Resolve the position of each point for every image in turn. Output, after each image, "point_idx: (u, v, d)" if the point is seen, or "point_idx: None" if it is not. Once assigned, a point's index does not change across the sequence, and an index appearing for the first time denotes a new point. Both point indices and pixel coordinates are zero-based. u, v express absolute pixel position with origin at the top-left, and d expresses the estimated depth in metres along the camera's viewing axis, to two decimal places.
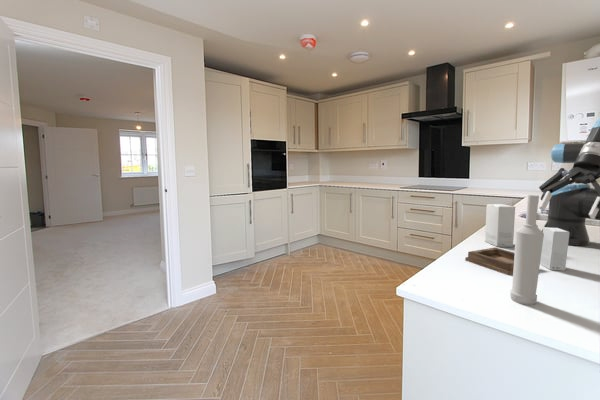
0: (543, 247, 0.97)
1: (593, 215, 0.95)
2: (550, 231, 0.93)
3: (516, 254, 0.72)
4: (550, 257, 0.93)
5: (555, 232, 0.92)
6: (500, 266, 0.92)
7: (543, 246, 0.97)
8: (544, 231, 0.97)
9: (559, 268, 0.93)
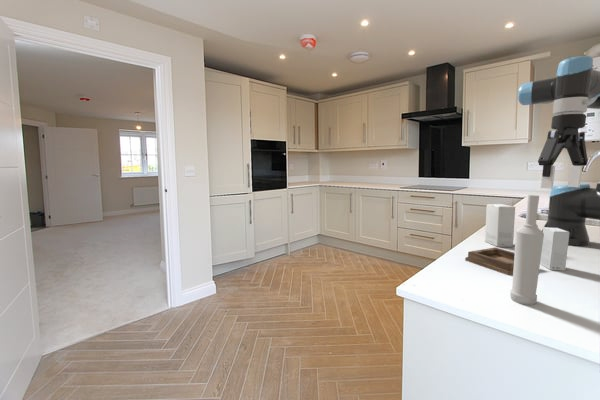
0: (543, 247, 0.97)
1: None
2: (550, 231, 0.93)
3: (516, 254, 0.72)
4: (550, 257, 0.93)
5: (555, 232, 0.92)
6: (500, 266, 0.92)
7: (543, 246, 0.97)
8: (544, 231, 0.97)
9: (559, 268, 0.93)
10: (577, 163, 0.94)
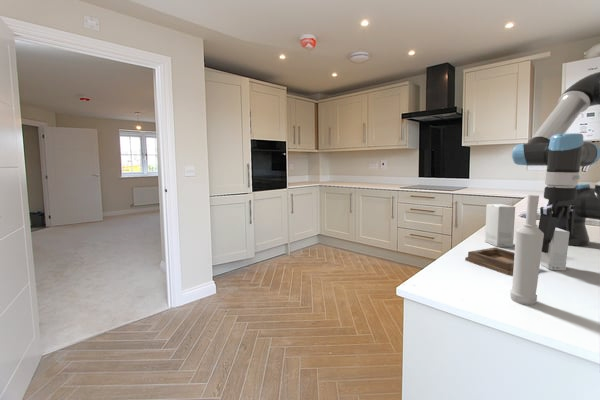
0: None
1: None
2: None
3: (516, 254, 0.72)
4: None
5: (555, 232, 0.92)
6: (500, 266, 0.92)
7: None
8: None
9: (559, 268, 0.93)
10: None
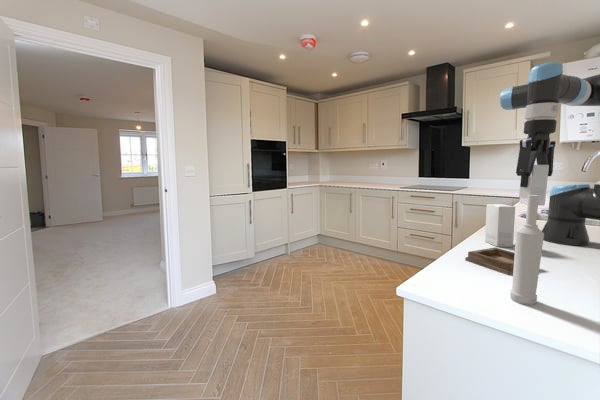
0: None
1: None
2: None
3: (516, 254, 0.72)
4: None
5: (535, 166, 0.90)
6: (500, 266, 0.92)
7: None
8: None
9: (539, 203, 0.91)
10: None
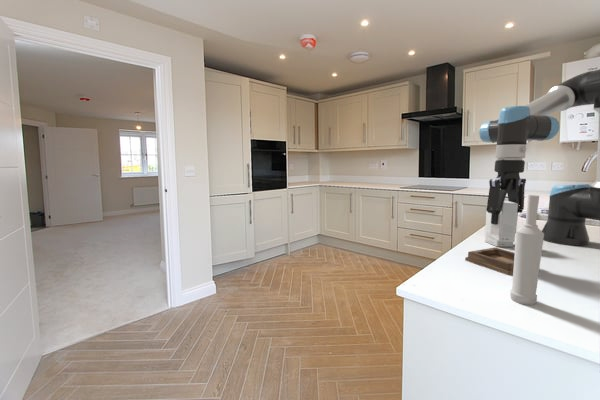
0: None
1: None
2: None
3: (516, 254, 0.72)
4: None
5: (504, 204, 0.93)
6: (500, 266, 0.92)
7: None
8: None
9: (508, 239, 0.94)
10: None
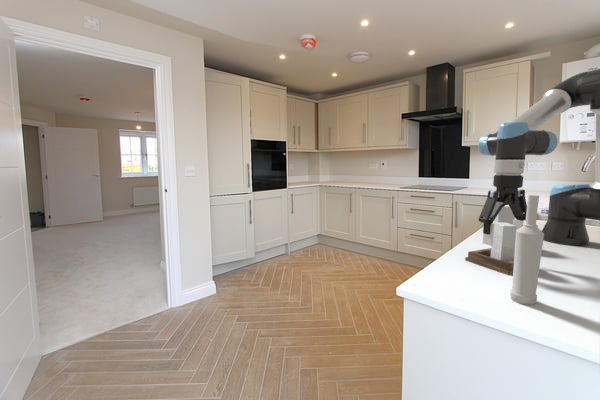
0: (494, 242, 0.99)
1: None
2: (500, 226, 0.96)
3: (516, 254, 0.72)
4: (500, 251, 0.95)
5: (504, 227, 0.94)
6: (500, 266, 0.92)
7: (494, 241, 0.99)
8: (494, 226, 0.99)
9: None
10: (519, 218, 0.99)
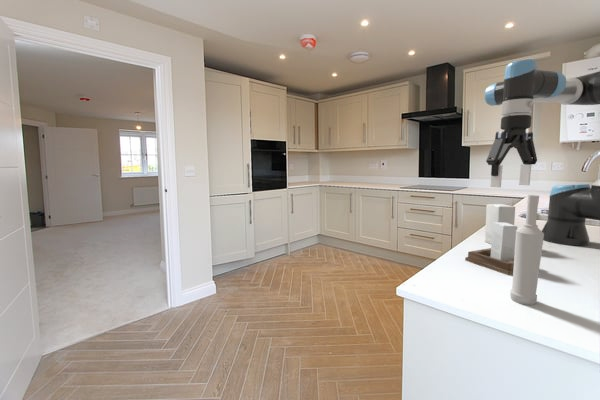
0: (494, 242, 0.99)
1: None
2: (500, 226, 0.96)
3: (516, 254, 0.72)
4: (500, 251, 0.95)
5: (504, 227, 0.94)
6: (500, 266, 0.92)
7: (494, 241, 0.99)
8: (494, 226, 0.99)
9: None
10: (527, 162, 0.98)
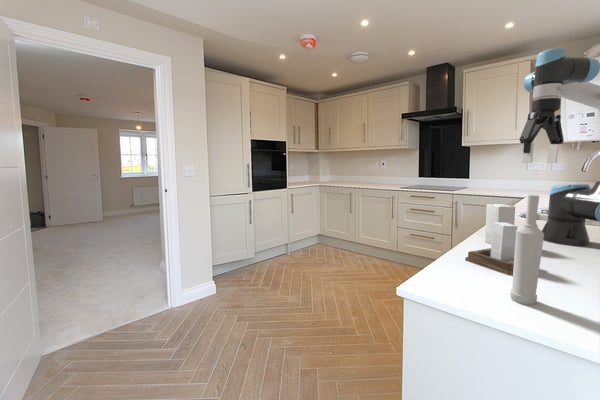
0: (494, 242, 0.99)
1: None
2: (500, 226, 0.96)
3: (516, 254, 0.72)
4: (500, 251, 0.95)
5: (504, 227, 0.94)
6: (500, 266, 0.92)
7: (494, 241, 0.99)
8: (494, 226, 0.99)
9: None
10: (554, 142, 1.08)
